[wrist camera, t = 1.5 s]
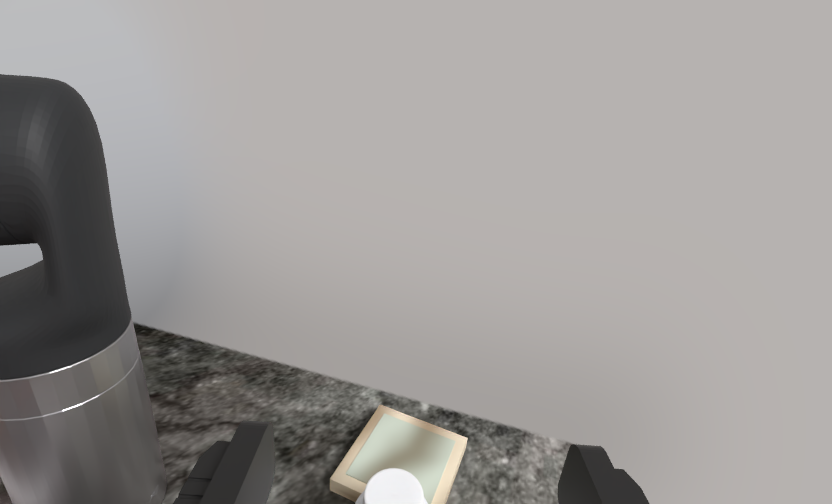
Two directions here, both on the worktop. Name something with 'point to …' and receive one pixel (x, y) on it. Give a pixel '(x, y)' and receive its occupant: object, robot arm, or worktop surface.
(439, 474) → the birch block
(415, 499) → the supplement bottle
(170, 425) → the worktop surface
